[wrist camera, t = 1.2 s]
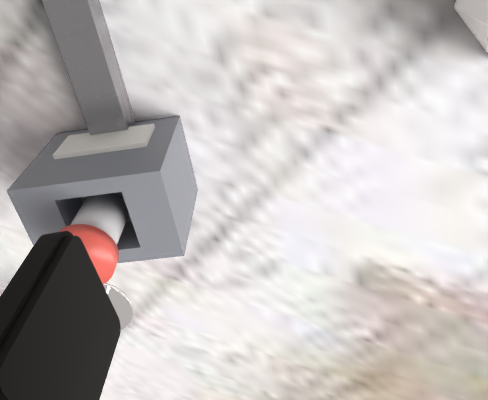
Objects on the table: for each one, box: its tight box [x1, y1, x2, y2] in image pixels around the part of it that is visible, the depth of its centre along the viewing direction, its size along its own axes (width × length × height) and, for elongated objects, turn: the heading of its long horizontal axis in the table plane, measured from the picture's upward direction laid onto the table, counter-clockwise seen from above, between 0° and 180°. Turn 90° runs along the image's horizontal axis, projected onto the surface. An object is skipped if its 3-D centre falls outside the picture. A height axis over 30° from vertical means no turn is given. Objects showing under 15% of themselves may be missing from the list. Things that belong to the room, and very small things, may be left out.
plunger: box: [58, 193, 128, 284], centre depth 27 cm, size 4×4×5 cm
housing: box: [7, 116, 198, 263], centre depth 31 cm, size 6×9×8 cm
